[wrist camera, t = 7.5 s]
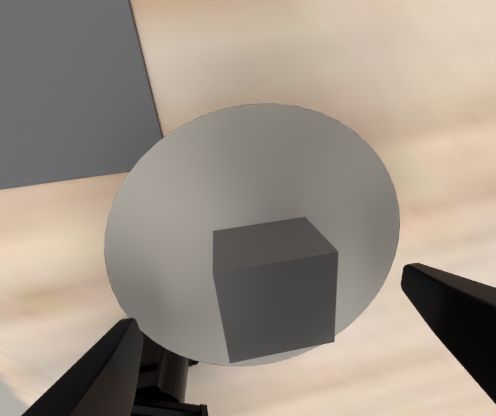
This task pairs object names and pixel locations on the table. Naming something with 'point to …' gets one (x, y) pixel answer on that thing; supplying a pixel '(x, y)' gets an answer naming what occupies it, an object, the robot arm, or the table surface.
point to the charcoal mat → (71, 91)
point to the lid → (252, 234)
